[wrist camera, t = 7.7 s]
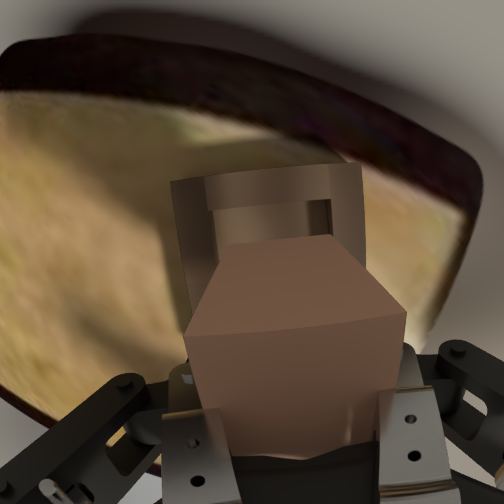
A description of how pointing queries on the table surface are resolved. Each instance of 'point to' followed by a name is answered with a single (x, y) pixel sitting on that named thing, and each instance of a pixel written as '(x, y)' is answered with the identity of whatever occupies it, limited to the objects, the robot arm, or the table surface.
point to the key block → (294, 346)
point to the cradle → (265, 213)
